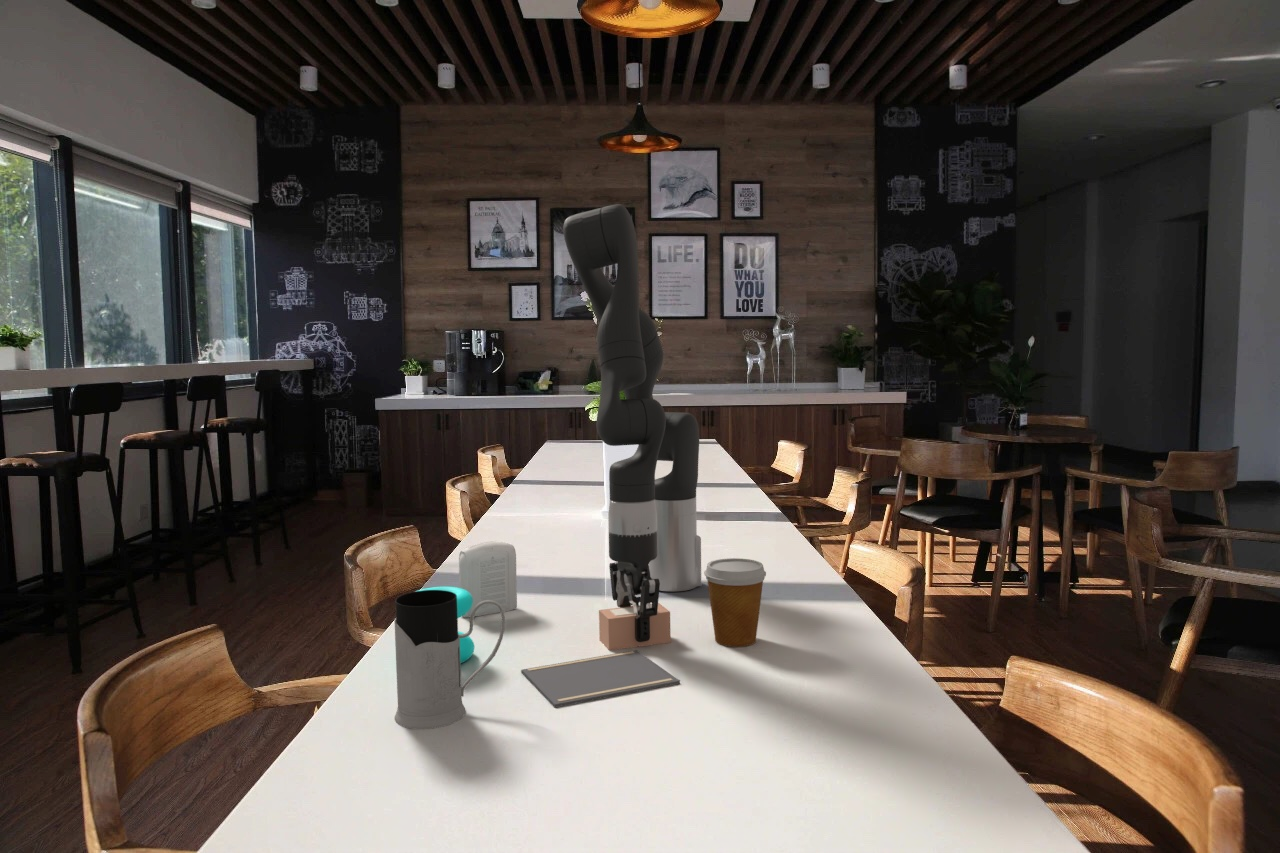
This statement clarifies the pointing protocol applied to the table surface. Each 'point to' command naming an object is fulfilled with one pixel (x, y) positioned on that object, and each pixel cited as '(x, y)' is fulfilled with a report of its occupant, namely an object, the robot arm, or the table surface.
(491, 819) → the table surface
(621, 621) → the card box
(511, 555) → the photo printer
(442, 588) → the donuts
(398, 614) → the glass holder
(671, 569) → the robot arm
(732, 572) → the disposable coffee cup
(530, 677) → the mat
